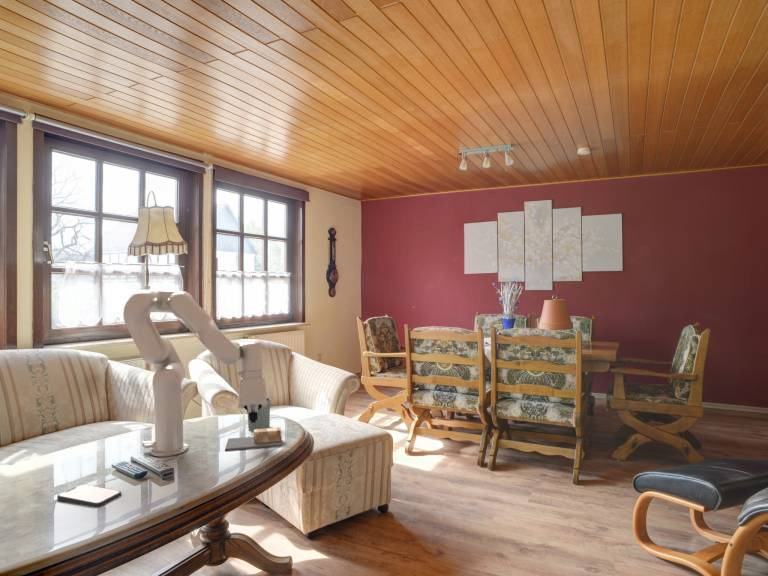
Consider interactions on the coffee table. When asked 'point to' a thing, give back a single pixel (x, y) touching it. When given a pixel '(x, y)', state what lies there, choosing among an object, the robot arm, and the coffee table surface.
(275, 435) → the maple block
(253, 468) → the coffee table surface
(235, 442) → the mat
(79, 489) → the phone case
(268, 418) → the grey-green cup
